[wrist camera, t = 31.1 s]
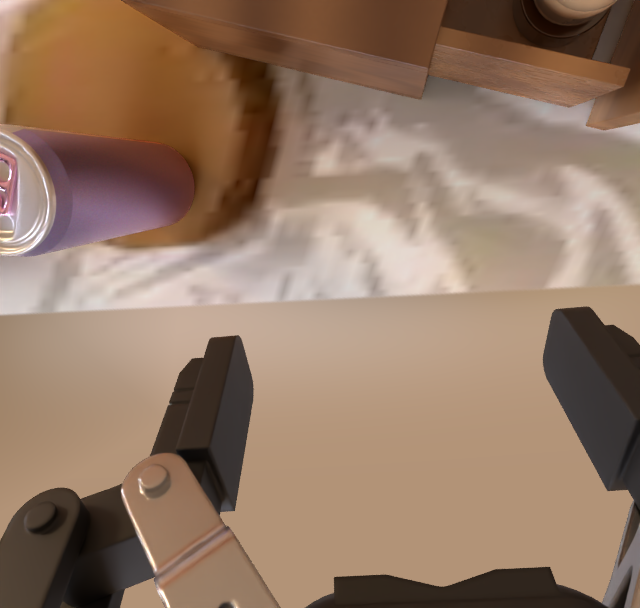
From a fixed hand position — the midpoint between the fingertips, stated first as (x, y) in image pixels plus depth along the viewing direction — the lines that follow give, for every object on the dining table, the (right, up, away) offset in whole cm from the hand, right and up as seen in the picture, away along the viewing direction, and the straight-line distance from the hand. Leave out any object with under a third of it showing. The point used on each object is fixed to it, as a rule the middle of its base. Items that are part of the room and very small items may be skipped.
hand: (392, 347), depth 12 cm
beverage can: (-14, +10, +23) cm, 28 cm away
